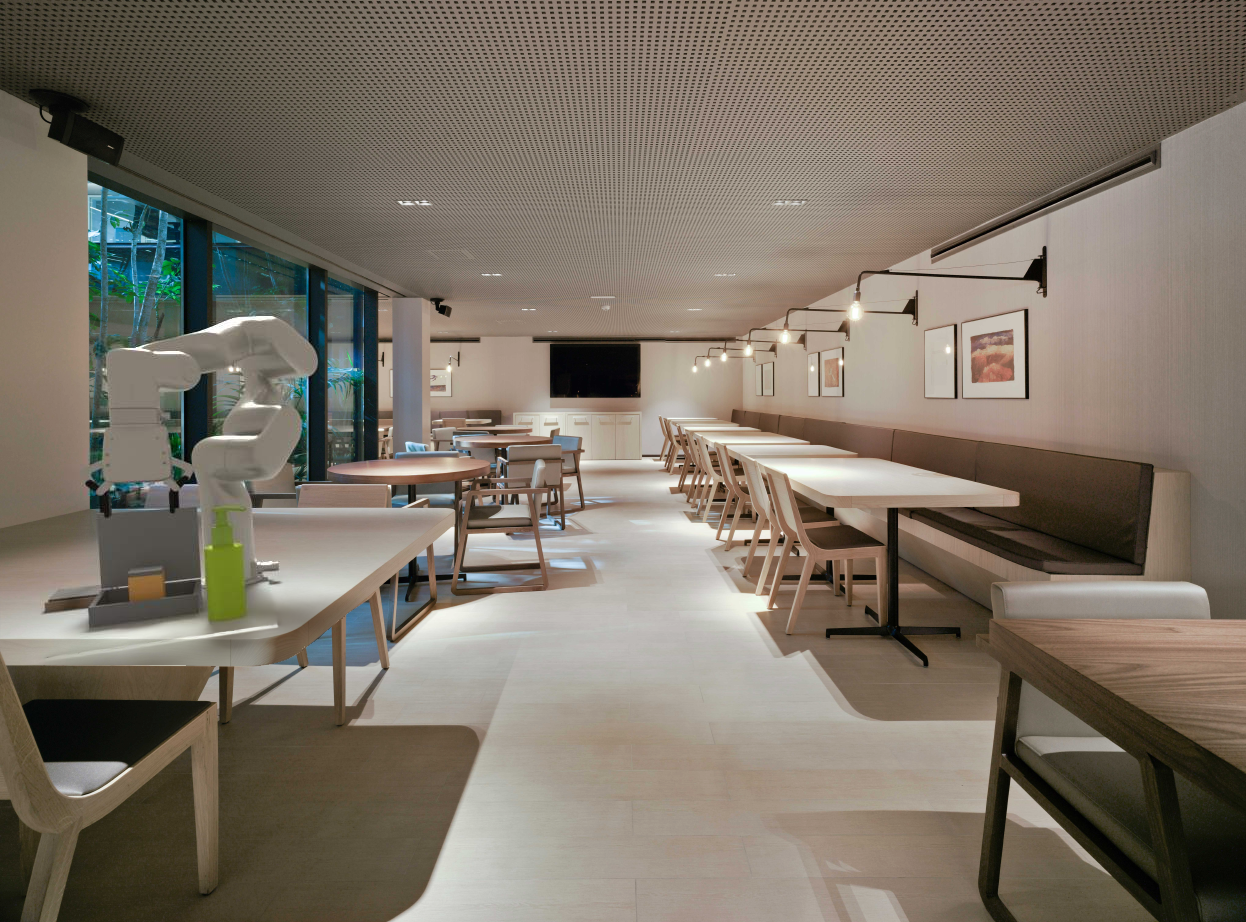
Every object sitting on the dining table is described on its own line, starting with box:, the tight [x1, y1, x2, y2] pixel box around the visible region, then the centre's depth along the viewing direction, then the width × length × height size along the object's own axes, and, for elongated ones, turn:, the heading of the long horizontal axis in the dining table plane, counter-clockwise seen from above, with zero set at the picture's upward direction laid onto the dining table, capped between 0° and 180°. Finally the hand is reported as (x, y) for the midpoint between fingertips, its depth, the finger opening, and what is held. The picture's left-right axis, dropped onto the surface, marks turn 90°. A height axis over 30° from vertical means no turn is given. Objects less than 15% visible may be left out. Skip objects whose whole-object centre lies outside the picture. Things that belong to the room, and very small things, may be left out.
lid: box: [96, 506, 202, 589], centre depth 137 cm, size 16×14×1 cm
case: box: [87, 578, 203, 629], centre depth 130 cm, size 16×14×4 cm
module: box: [128, 565, 166, 602], centre depth 129 cm, size 5×5×8 cm
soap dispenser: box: [203, 506, 247, 622], centre depth 125 cm, size 6×7×20 cm
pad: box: [44, 584, 119, 613], centre depth 138 cm, size 10×10×3 cm
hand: (141, 514), depth 127 cm, fingers open, 9 cm apart
